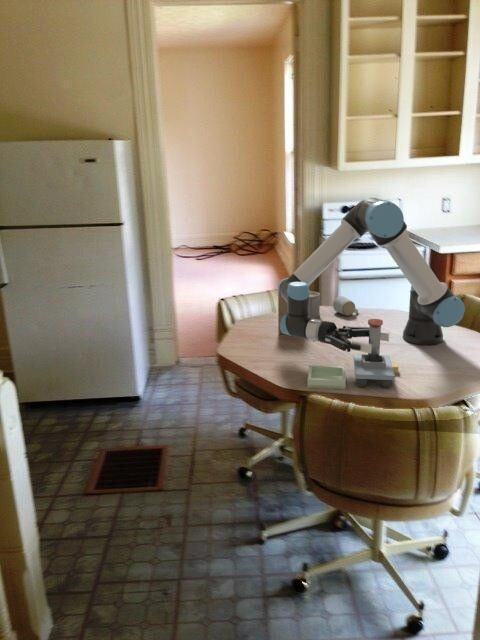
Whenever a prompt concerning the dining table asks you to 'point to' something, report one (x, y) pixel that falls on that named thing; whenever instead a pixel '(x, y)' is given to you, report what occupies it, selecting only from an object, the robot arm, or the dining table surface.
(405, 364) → the dining table surface
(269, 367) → the dining table surface
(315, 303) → the grey cylindrical piece
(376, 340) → the pin
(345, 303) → the ceramic mug
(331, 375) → the tray
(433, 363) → the dining table surface
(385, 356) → the cart
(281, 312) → the wooden block
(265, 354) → the dining table surface
